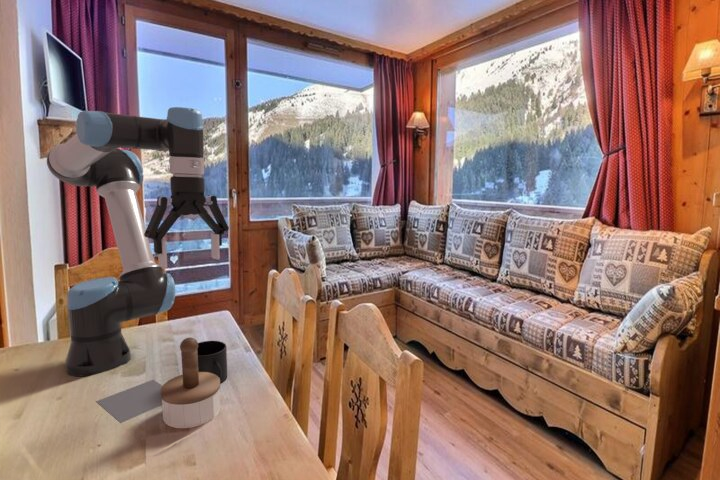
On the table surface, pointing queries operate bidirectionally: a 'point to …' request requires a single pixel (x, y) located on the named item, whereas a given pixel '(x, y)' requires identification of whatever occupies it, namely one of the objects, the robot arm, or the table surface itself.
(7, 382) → the table surface
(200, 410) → the bowl
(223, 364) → the mug
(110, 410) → the mat
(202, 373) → the lid
